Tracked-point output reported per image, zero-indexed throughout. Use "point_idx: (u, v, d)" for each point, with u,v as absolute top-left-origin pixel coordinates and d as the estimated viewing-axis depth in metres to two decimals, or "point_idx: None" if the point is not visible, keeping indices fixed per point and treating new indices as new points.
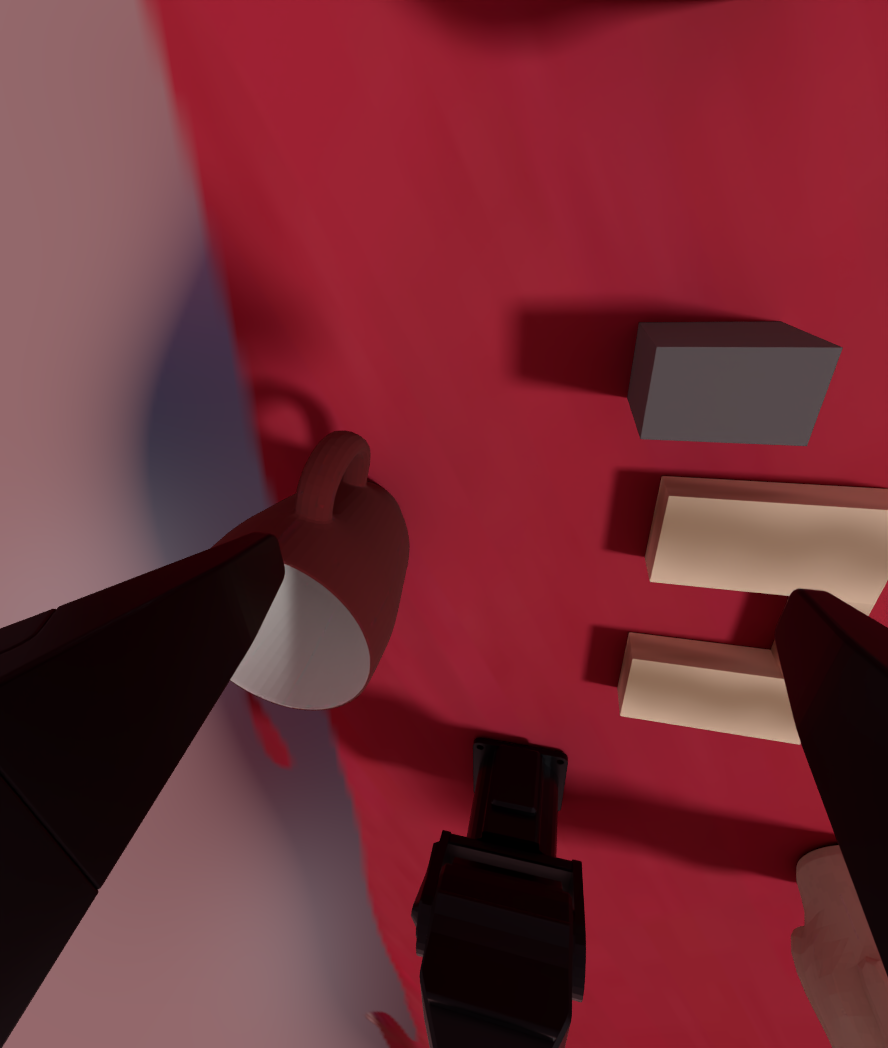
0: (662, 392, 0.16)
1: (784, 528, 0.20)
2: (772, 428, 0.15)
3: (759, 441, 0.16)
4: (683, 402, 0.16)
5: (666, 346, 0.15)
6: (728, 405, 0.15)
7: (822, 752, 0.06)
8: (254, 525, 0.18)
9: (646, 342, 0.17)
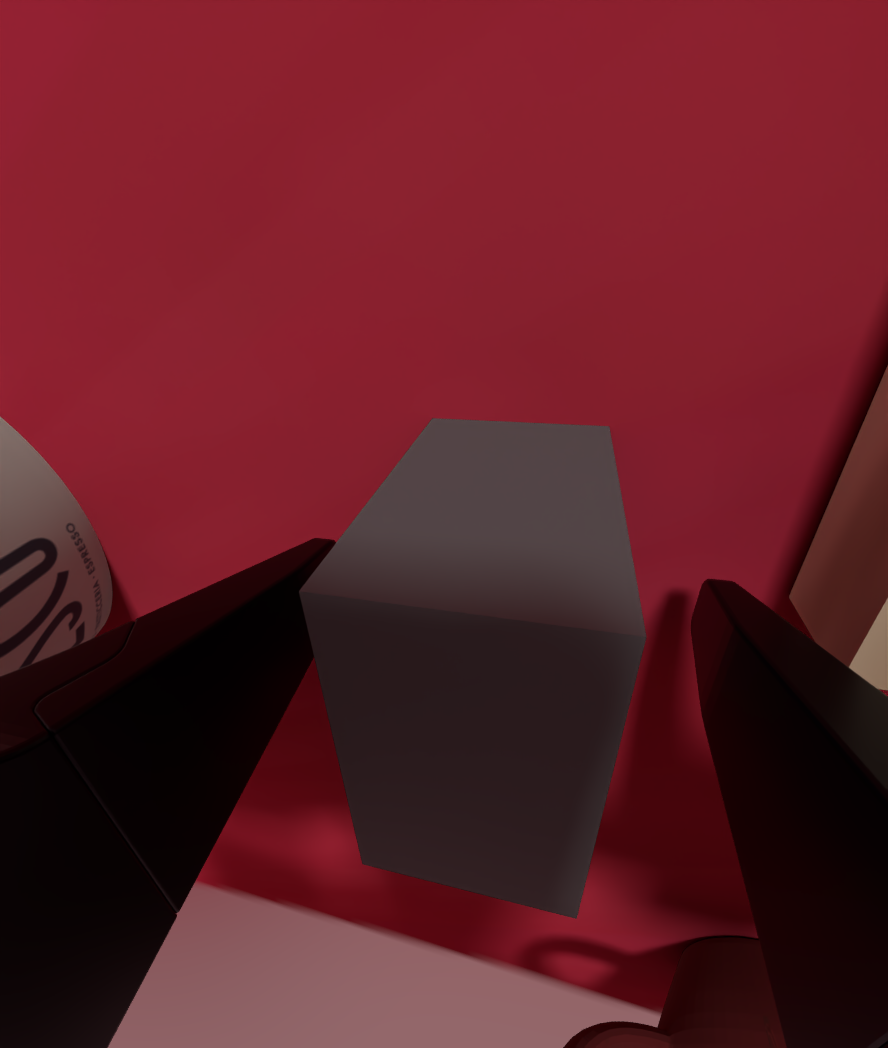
0: (456, 873, 0.06)
1: None
2: (562, 718, 0.04)
3: (610, 744, 0.05)
4: (479, 853, 0.06)
5: None
6: (484, 792, 0.05)
7: (718, 735, 0.07)
8: None
9: None
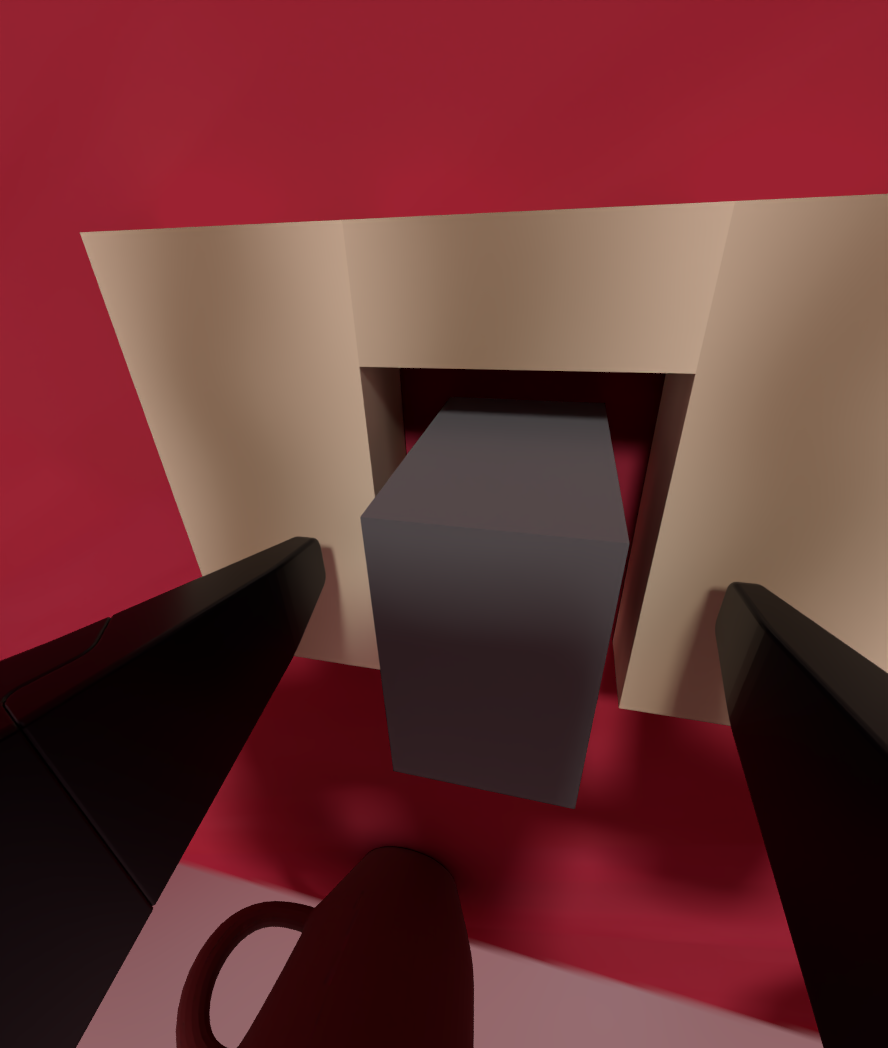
0: (475, 773, 0.08)
1: (217, 484, 0.10)
2: (565, 618, 0.06)
3: (603, 638, 0.06)
4: (495, 750, 0.07)
5: (394, 755, 0.08)
6: (501, 691, 0.07)
7: (748, 740, 0.07)
8: None
9: None
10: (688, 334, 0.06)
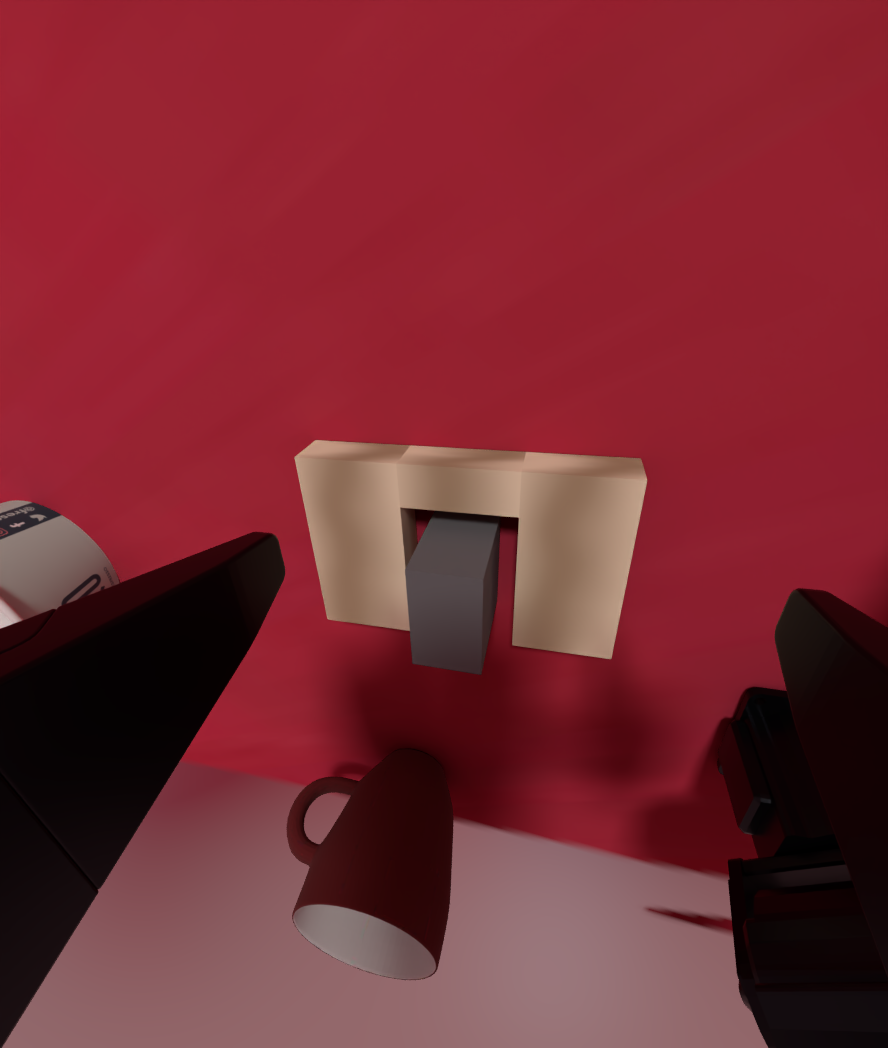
0: (443, 661, 0.20)
1: (335, 546, 0.22)
2: (468, 601, 0.18)
3: (480, 607, 0.18)
4: (450, 651, 0.20)
5: None
6: (451, 627, 0.19)
7: (822, 752, 0.06)
8: None
9: None
10: (514, 505, 0.19)
